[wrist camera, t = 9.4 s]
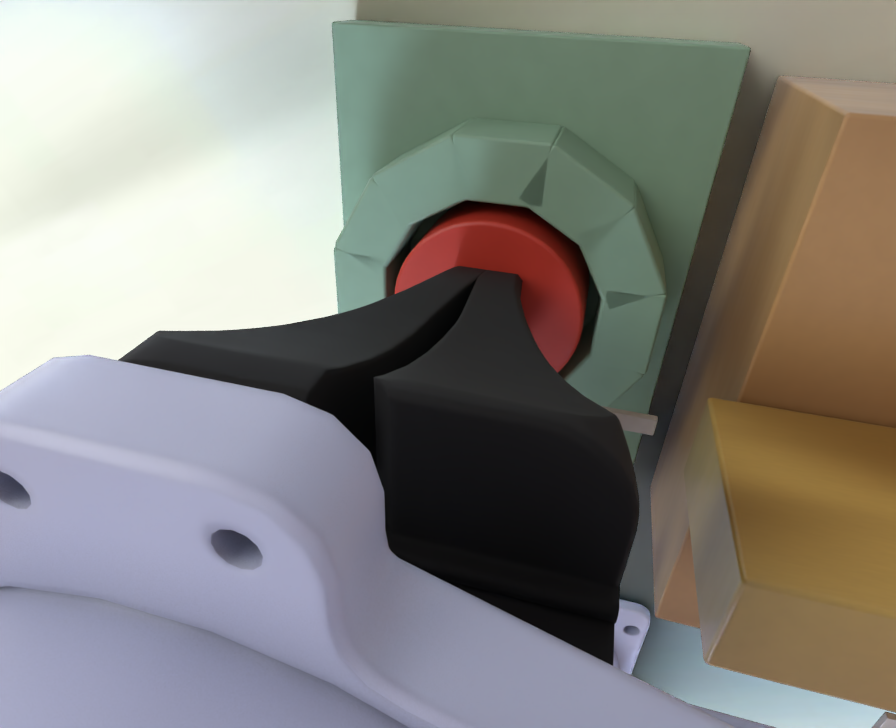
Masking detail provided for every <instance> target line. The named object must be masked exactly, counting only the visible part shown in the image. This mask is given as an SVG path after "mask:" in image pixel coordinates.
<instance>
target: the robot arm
mask: <svg viewBox="0 0 896 728" xmlns="http://www.w3.org/2000/svg"><path fill="white" fill-rule="evenodd" d="M522 281H523V280H522V279H521V278H520V276H519V275H518V274H513V273H506V272H499V271H492V270H485V269H478V268H471V267H464V266H456V267H453V268H451V269H448V270H446V271H444V272H442V273H440V274H437V275H435V276H433V277H431V278H429V279H427V280H425V281H423V282H421V283H419V284H416V285H414V286H412V287H410V288H408V289H406V290H403V291H401V292H399V293H396V294H394V295H391V296H389V297H386V298H384V299H381V300H379V301H376V302H374V303H371V304H369V305H366V306H363V307H360V308H357V309H353V310H350V311H346V312H343V313H339V314H336V315H332V316H328V317H323V318H318V319H313V320H307V321H302V322H297V323H292V324H286V325H279V326H271V327H262V328H252V329H240V330H223V331H158V332H156V333H155V334H153V335H152V336H151V337H149V338H148V339H147V340H145V341H144V342H142V343H141V344H140V345H138V346H137V347H136V348H134V349H133V350H132V351H130V352H129V353H127V354H126V355H125V356H123V357H122V358H121V359H119V360H118V361H117V360H112V359H107V358H102V357H97V356H92V355H82V356H69V357H55V358H52V359H50V360H49V361H47V362H46V363H44V364H42V365H41V366H39V367H38V368H36V369H34V370H33V371H31V372H30V373H28V374H26V375H25V376H23V377H22V378H20V379H18V380H17V381H15V382H14V383H12V384H10V385H9V386H7V387H6V388H4V389H2V390H1V391H0V728H775V727H771V726H768V725H764V724H760V723H757V722H753V721H750V720H746V719H742V718H739V717H735V716H731V715H728V714H724V713H720V712H717V711H713V710H709V709H706V708H702V707H698V706H695V705H691V704H688V703H686V702H684V701H682V700H680V699H678V698H676V697H674V696H672V695H670V694H668V693H666V692H664V691H662V690H660V689H658V688H656V687H654V686H652V685H650V684H648V683H646V682H644V681H642V680H640V679H638V678H636V677H634V676H632V675H631V673H632V671H633V668H634V666H635V663H636V660H637V658H638V655H639V652H640V650H641V647H642V644H643V642H644V639H645V636H646V634H647V631H648V628H649V626H650V612H649V610H648V609H647V608H646V607H644V606H643V605H640V604H638V603H634V602H630V601H626V600H622V599H619V597H620V583H621V580H622V577H623V573H624V570H625V567H626V564H627V561H628V557H629V554H630V551H631V548H632V545H633V541H634V538H635V535H636V532H637V526H638V520H639V495H638V489H637V482H636V477H635V472H634V467H633V463H632V459H631V455H630V451H629V447H628V444H627V441H626V438H625V435H624V432H623V429H622V426H621V423H620V420H619V419H618V417H617V416H616V415H615V414H613V413H612V412H610V411H608V410H607V409H605V408H603V407H602V406H600V405H598V404H597V403H595V402H593V401H592V400H590V399H588V398H587V397H585V396H584V395H582V394H581V393H580V392H579V391H577V390H576V389H575V388H574V387H572V386H571V385H570V384H569V383H567V382H566V381H565V380H564V379H563V378H562V377H561V376H560V375H559V374H558V373H557V372H556V371H555V369H554V368H553V367H552V366H551V365H550V364H549V362H548V361H547V360H546V358H545V357H544V355H543V354H542V352H541V350H540V349H539V347H538V345H537V343H536V342H535V340H534V338H533V335H532V333H531V331H530V328H529V326H528V324H527V321H526V318H525V314H524V311H523V307H522V303H521V290H522Z"/></svg>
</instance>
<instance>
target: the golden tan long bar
mask: <svg viewBox="0 0 896 728" xmlns="http://www.w3.org/2000/svg"><path fill="white" fill-rule="evenodd" d="M684 479H685V489H686V498H687V507H688V517H689V526H690V536H691V545H692V555H693V564H694V573H695V583H696V592H697V602H698V611H699V621H700V630H701V639H702V649H703V658H704V661H705V663H706V664H708V665H711V666H715V667H719V668H723V669H726V670H730V671H734V672H738V673H742V674H746V675H750V676H754V677H758V678H762V679H766V680H770V681H774V682H777V683H781V684H785V685H789V686H793V687H797V688H801V689H805V690H809V691H813V692H817V693H821V694H825V695H829V696H832V697H836V698H840V699H844V700H848V701H852V702H856V703H860V704H864V705H868V706H872V707H876V708H880V709H883V710H887V711H891V712H895V713H896V428H892V427H886V426H880V425H874V424H868V423H862V422H856V421H850V420H844V419H838V418H832V417H826V416H820V415H814V414H808V413H802V412H796V411H790V410H784V409H778V408H772V407H766V406H760V405H754V404H748V403H742V402H736V401H730V400H724V399H718V398H709V399H708V400H707V402H706V405H705V408H704V411H703V414H702V417H701V420H700V423H699V426H698V429H697V432H696V435H695V438H694V441H693V444H692V447H691V450H690V453H689V456H688V459H687V462H686V465H685V468H684Z"/></svg>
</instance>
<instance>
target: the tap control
mask: <svg viewBox="0 0 896 728" xmlns="http://www.w3.org/2000/svg"><path fill="white" fill-rule="evenodd" d="M332 34H333V51H334V68H335V85H336V102H337V119H338V136H339V152H340V169H341V186H342V203H343V220H344V228H343V230H342V232H341V234H340V235H339V237H338V239H337V241H336V246H335V248H334V258H335V273H336V287H337V301H338V314H339V313H343V312H346V311H350V310H353V309H357V308H360V307H363V306H366V305H369V304H371V303H374V302H376V301H379V300H381V299H384V298H386V297H389V296H391V295H394V294H395V285H396V280H397V277H398V274H399V271H400V268H401V266H402V264H403V263H404V261H405V259H406V257H407V256H408V255H409V253H410V252H411V251H412V249H413V248H414V247H415V246H416V245H417V243H418V242H419V241H420V240H421V239H422V238H423V237H424V235H425V234H426V233H427V232H428V231H429V230H430V229H431V227H432V226H433V225H434V224H435V223H436V222H437V221H438V220H439V219H440V218H441V217H442V216H443V215H444V214H445V213H446V212H447V211H449V210H450V209H451V208H453V207H454V206H456V205H458V204H460V203H462V202H464V201H467V200H469V201H477V202H485V203H493V204H502V205H510V206H518V207H527V208H529V209H530V210H532V211H533V212H534V213H536V214H537V215H539V216H540V217H541V218H543V219H544V220H545V221H547V222H548V223H549V224H551V225H552V226H553V227H555V228H556V229H557V230H559V231H560V232H561V233H563V234H564V235H565V236H567V237H568V238H570V239H571V240H572V241H574V242H575V243H576V244H578V245H579V246H580V249H581V251H582V253H583V256H584V258H585V261H586V263H587V266H588V269H589V290H588V297H587V304H586V311H585V317H584V324H583V330H582V334H581V338H580V341H579V343H578V346H577V348H576V350H575V352H574V354H573V355H572V357H571V359H570V360H569V361H568V363H567V364H566V365H565V366H564V367H563V368H562V369H561V370H560V371H559V372H558V374H559V375H560V376H561V377H562V378H563V379H564V380H565V381H566V382H567V383H569V384H570V385H571V386H572V387H574V388H575V389H576V390H577V391H579V392H580V393H581V394H582V395H584V396H585V397H587V398H588V399H590V400H592V401H593V402H595V403H597V404H598V405H600V406H605V407H610V408H616V409H621V410H626V411H632V412H637V413H643V414H648V412H649V409H650V405H651V402H652V398H653V395H654V391H655V388H656V384H657V381H658V377H659V373H660V370H661V366H662V363H663V359H664V356H665V352H666V349H667V345H668V342H669V338H670V335H671V331H672V328H673V324H674V320H675V317H676V313H677V310H678V306H679V303H680V299H681V296H682V292H683V289H684V285H685V282H686V278H687V274H688V271H689V267H690V264H691V260H692V257H693V253H694V250H695V246H696V243H697V239H698V236H699V232H700V228H701V225H702V221H703V218H704V214H705V211H706V207H707V204H708V200H709V197H710V193H711V190H712V186H713V182H714V179H715V175H716V172H717V168H718V165H719V161H720V158H721V154H722V151H723V147H724V144H725V140H726V137H727V133H728V129H729V126H730V122H731V119H732V115H733V112H734V108H735V105H736V101H737V98H738V94H739V91H740V87H741V83H742V80H743V76H744V73H745V69H746V66H747V62H748V59H749V55H750V52H751V48H749V47H747V46H745V45H743V44H741V43H732V42H715V41H698V40H682V39H665V38H649V37H632V36H615V35H599V34H582V33H565V32H549V31H532V30H515V29H499V28H482V27H466V26H449V25H432V24H416V23H399V22H382V21H366V20H348V21H336V22H333V23H332ZM623 432H624V435H625V438H626V441H627V444H628V447H629V451H630V455H631V459H632V463H633V465H634V462H635V458H636V455H637V451H638V448H639V444H640V441H641V437H642V433H636V432H631V431H626V430H623Z"/></svg>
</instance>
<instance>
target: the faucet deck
mask: <svg viewBox="0 0 896 728" xmlns="http://www.w3.org/2000/svg"><path fill="white" fill-rule="evenodd" d="M709 398H718V399H724V400H730V401H736V402H742V403H748V404H754V405H760V406H766V407H772V408H778V409H784V410H790V411H796V412H802V413H808V414H814V415H820V416H826V417H832V418H838V419H844V420H850V421H856V422H862V423H868V424H874V425H880V426H886V427H892V428H896V83H883V82H869V81H854V80H840V79H826V78H811V77H797V76H779V77H778V79H777V81H776V84H775V88H774V91H773V94H772V97H771V100H770V104H769V107H768V110H767V113H766V117H765V120H764V123H763V126H762V129H761V133H760V136H759V139H758V142H757V145H756V149H755V152H754V155H753V158H752V161H751V165H750V168H749V171H748V174H747V178H746V181H745V184H744V187H743V190H742V194H741V197H740V200H739V203H738V206H737V210H736V213H735V216H734V219H733V222H732V226H731V229H730V232H729V235H728V238H727V242H726V245H725V248H724V251H723V255H722V258H721V261H720V264H719V267H718V271H717V274H716V277H715V280H714V283H713V287H712V290H711V293H710V296H709V299H708V303H707V306H706V309H705V312H704V316H703V319H702V322H701V325H700V328H699V332H698V335H697V338H696V341H695V344H694V348H693V351H692V354H691V357H690V360H689V364H688V367H687V370H686V373H685V376H684V380H683V383H682V386H681V389H680V393H679V396H678V399H677V402H676V405H675V409H674V412H673V415H672V418H671V421H670V425H669V428H668V431H667V434H666V437H665V441H664V444H663V447H662V450H661V454H660V457H659V460H658V463H657V466H656V470H655V473H654V476H653V479H652V482H651V486H650V491H651V520H652V549H653V577H654V606H655V616H656V617H657V618H660V619H664V620H668V621H672V622H676V623H680V624H684V625H688V626H692V627H696V628H700V621H699V611H698V602H697V592H696V583H695V573H694V564H693V555H692V545H691V536H690V526H689V517H688V507H687V498H686V489H685V479H684V468H685V465H686V462H687V459H688V456H689V453H690V450H691V447H692V444H693V441H694V438H695V435H696V432H697V429H698V426H699V423H700V420H701V417H702V414H703V411H704V408H705V405H706V402H707V400H708V399H709ZM602 407H603V408H605V409H607V410H608V411H610V412H612V413H613V414H615V415H616V416H617V417H618V419H619V420H620V423H621V426H622V429H623V430H626V431H631V432H636V433H642V434H647V435H652V436H653V435H654V432H655V429H656V425H657V422H658V417H657V416H654V415H648V414H643V413H637V412H632V411H626V410H621V409H616V408H610V407H605V406H602ZM872 728H896V714H892V713H889V712H885V713H884V714H883V715H882V716H881V717H880V719H879V720H878V721H877V722H876V723H875V724H874V726H873V727H872Z"/></svg>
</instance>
